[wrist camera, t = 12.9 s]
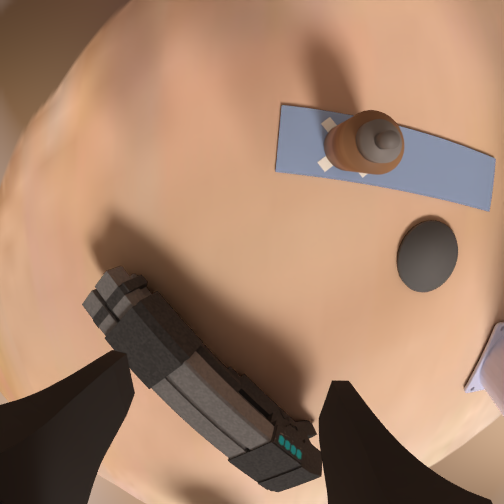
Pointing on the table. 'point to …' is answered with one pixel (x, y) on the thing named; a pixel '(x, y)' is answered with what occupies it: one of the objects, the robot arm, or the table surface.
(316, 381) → the table surface
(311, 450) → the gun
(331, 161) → the awl
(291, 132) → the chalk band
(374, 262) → the table surface
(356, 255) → the table surface
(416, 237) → the coaster
